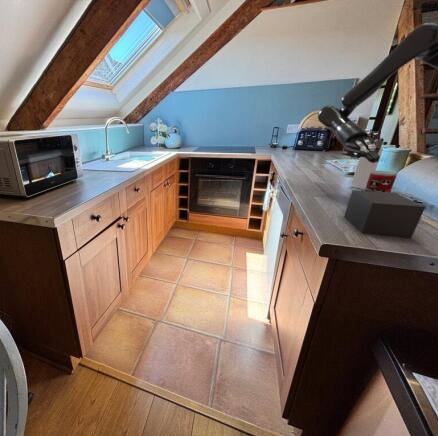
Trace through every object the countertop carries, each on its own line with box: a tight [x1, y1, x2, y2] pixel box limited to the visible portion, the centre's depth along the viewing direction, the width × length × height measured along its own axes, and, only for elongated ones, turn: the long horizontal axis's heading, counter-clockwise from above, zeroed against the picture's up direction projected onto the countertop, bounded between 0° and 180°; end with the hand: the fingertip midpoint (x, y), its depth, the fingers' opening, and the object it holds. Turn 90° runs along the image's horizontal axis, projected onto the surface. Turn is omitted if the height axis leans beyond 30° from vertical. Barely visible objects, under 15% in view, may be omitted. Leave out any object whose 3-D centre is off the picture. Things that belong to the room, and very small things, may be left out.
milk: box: [350, 144, 385, 190], centre depth 113 cm, size 6×6×22 cm
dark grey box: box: [343, 189, 426, 239], centre depth 74 cm, size 14×12×10 cm
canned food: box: [364, 170, 398, 192], centre depth 100 cm, size 8×8×11 cm
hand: (376, 160), depth 83 cm, fingers closed
